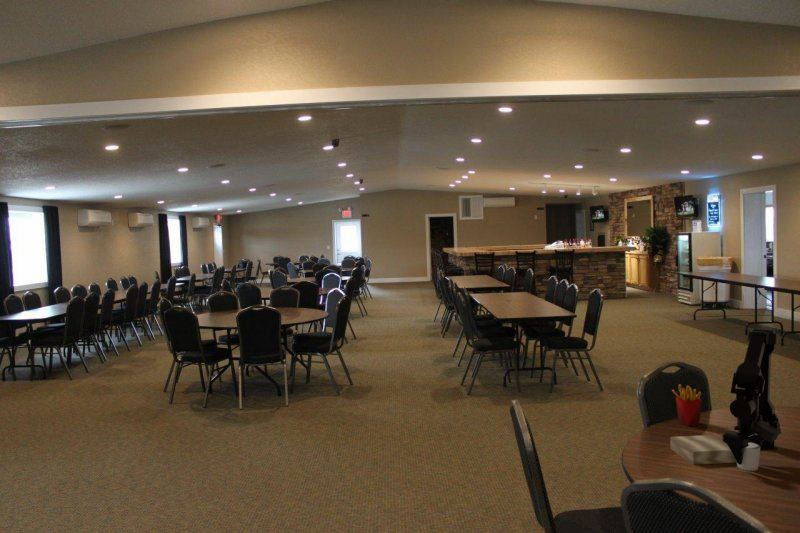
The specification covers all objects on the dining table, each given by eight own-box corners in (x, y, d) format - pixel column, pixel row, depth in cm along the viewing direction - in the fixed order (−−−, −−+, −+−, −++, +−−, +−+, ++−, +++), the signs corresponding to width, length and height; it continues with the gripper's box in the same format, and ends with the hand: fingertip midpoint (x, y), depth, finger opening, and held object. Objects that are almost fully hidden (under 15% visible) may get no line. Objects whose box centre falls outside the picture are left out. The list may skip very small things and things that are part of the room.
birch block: (710, 448, 205) (710, 435, 205) (736, 463, 191) (736, 449, 191) (670, 450, 204) (670, 436, 204) (693, 465, 190) (693, 451, 190)
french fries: (689, 420, 233) (689, 382, 233) (705, 426, 225) (705, 387, 225) (670, 422, 231) (670, 384, 230) (685, 429, 223) (686, 389, 222)
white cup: (763, 472, 183) (764, 449, 183) (739, 470, 184) (739, 448, 184) (755, 463, 190) (755, 441, 189) (731, 462, 191) (731, 440, 191)
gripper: (760, 423, 174) (759, 476, 175) (790, 411, 185) (790, 461, 186) (721, 414, 184) (721, 464, 184) (752, 403, 194) (752, 451, 195)
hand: (747, 460), depth 187 cm, fingers open, 9 cm apart
